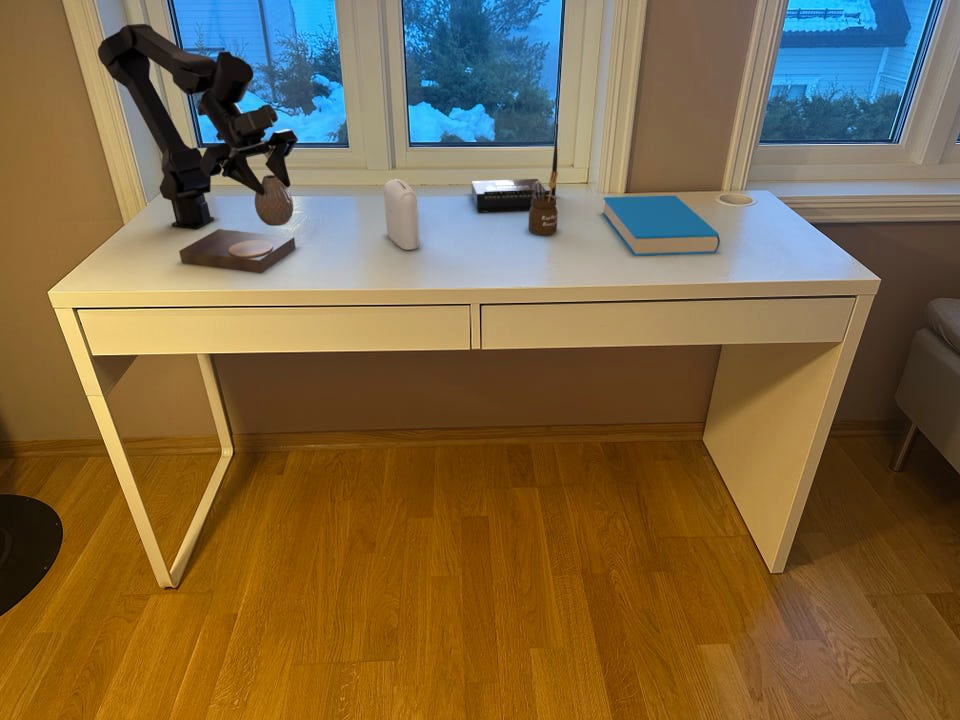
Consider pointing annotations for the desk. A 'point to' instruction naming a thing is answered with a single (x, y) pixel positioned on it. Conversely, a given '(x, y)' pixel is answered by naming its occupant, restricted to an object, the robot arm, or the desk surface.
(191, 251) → the riser board
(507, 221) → the desk surface
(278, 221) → the vase
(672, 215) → the book
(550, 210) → the utensil holder
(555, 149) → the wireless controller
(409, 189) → the photo printer
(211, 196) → the desk surface
